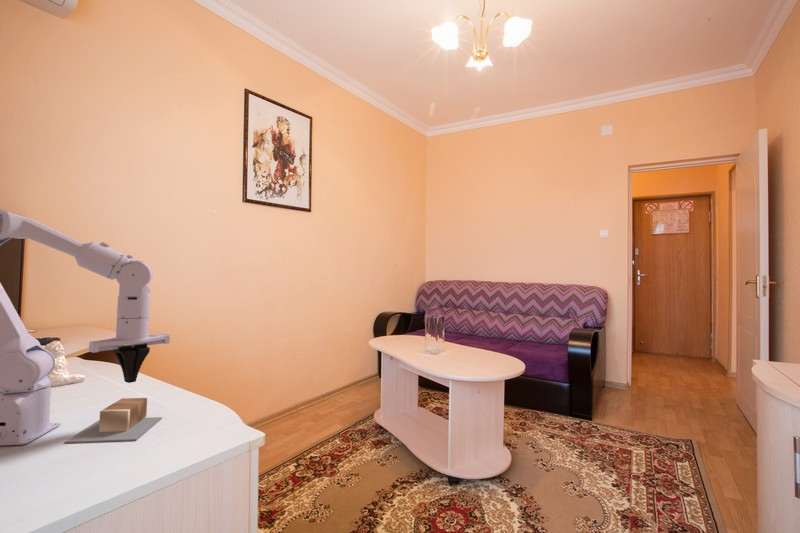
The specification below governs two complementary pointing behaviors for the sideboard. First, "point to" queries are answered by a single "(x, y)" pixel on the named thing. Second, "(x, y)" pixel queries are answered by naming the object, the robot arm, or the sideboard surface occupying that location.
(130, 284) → the robot arm
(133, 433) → the slate rubber mat
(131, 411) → the walnut block
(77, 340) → the sideboard surface
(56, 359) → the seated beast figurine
